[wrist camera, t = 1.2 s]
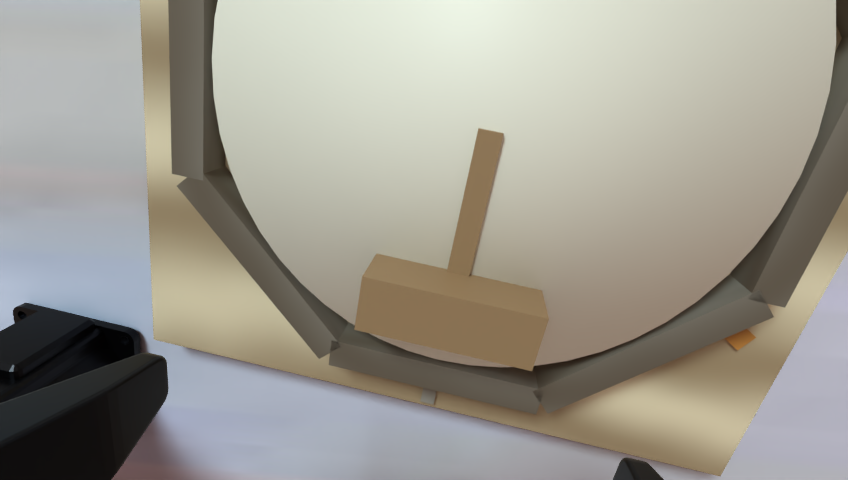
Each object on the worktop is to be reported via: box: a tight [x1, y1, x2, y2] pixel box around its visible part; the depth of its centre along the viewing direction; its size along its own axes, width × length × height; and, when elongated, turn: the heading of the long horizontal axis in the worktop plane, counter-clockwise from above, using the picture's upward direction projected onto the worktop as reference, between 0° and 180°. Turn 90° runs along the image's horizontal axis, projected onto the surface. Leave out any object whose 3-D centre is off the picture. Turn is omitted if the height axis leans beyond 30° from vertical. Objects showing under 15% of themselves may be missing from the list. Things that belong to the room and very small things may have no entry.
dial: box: [212, 0, 836, 371], centre depth 14 cm, size 19×19×4 cm
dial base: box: [140, 0, 848, 476], centre depth 16 cm, size 26×26×3 cm
